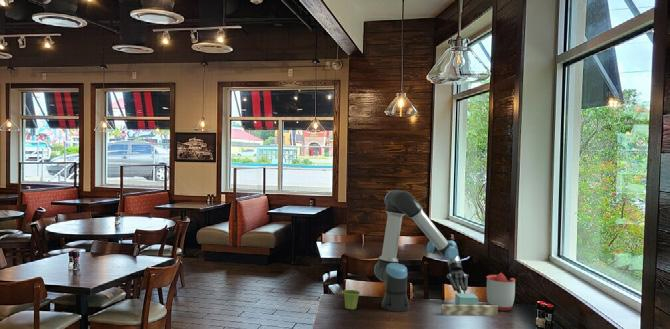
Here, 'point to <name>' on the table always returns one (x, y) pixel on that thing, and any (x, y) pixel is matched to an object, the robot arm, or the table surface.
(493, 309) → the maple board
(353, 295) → the plant pot
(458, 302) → the teal block
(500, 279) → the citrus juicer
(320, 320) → the table surface
